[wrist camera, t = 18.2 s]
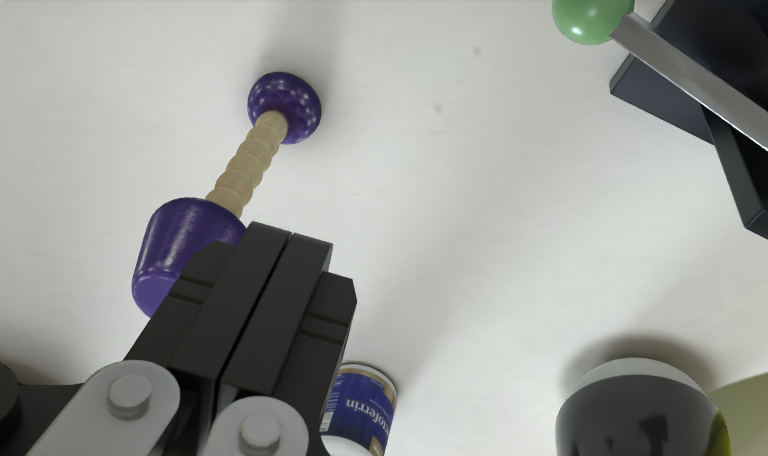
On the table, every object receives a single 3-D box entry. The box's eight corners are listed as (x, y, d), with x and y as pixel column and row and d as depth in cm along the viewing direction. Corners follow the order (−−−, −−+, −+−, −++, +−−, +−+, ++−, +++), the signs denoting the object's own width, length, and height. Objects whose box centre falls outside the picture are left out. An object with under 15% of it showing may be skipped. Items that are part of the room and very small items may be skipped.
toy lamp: (327, 73, 39) (206, 258, 25) (335, 148, 41) (229, 351, 28) (244, 70, 40) (85, 248, 26) (257, 144, 42) (119, 339, 29)
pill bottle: (414, 395, 52) (388, 516, 44) (363, 423, 55) (330, 541, 48) (357, 349, 51) (320, 466, 43) (308, 380, 54) (265, 495, 46)
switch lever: (559, 14, 31) (524, 19, 29) (600, -54, 29) (566, -55, 27) (843, 221, 27) (828, 247, 24) (914, 156, 25) (905, 177, 22)
